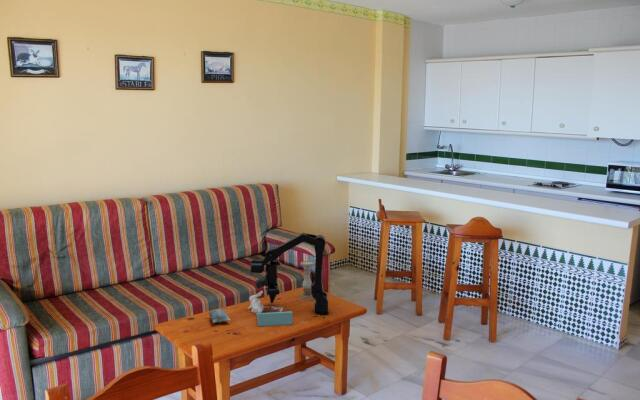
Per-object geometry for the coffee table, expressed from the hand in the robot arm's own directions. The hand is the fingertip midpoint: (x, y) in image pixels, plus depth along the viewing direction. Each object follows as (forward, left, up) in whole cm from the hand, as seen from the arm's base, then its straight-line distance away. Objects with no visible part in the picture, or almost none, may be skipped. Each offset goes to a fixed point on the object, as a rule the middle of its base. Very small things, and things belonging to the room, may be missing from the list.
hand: (271, 302), depth 282 cm
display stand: (0, +13, -4) cm, 14 cm away
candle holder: (-21, -17, -5) cm, 28 cm away
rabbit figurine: (+7, -2, -5) cm, 9 cm away
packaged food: (+24, +13, -6) cm, 28 cm away
